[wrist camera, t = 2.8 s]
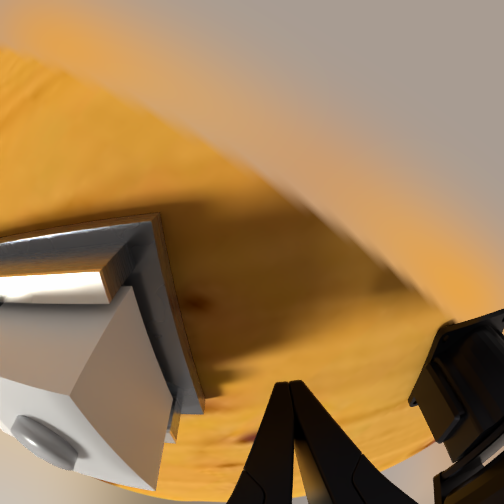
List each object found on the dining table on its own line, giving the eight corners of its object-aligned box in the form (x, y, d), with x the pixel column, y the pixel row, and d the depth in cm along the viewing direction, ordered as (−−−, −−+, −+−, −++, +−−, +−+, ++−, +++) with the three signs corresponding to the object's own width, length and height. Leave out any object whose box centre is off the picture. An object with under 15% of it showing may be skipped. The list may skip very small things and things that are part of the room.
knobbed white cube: (132, 285, 9) (59, 416, 4) (172, 398, 11) (153, 504, 6) (18, 289, 9) (-55, 368, 4) (69, 387, 11) (33, 466, 6)
